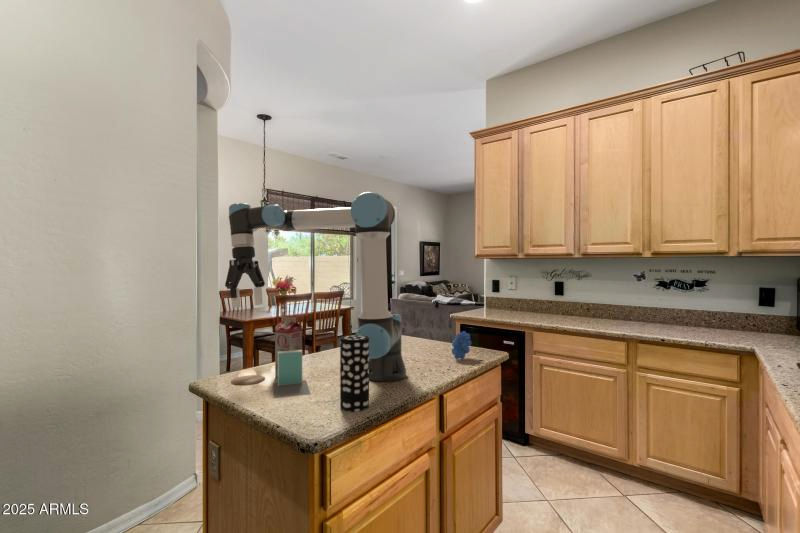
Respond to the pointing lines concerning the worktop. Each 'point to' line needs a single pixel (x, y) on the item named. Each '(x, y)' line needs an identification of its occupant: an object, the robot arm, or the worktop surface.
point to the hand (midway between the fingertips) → (248, 306)
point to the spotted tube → (354, 372)
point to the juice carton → (287, 337)
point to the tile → (289, 367)
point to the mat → (290, 389)
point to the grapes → (461, 345)
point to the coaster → (248, 380)
